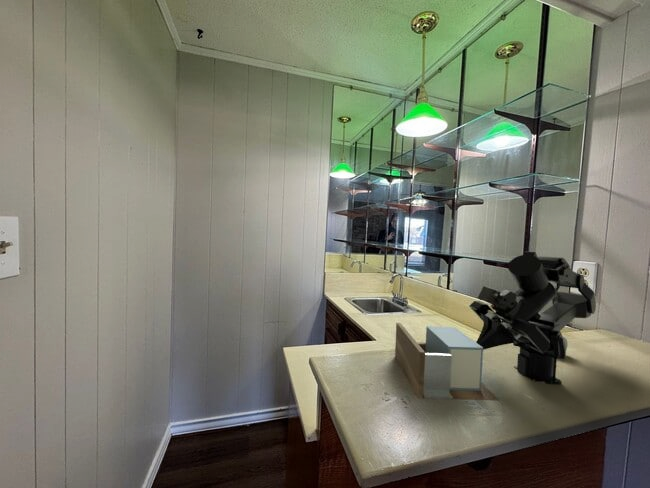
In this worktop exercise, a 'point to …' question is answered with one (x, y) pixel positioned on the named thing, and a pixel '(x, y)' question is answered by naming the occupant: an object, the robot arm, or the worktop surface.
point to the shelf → (414, 365)
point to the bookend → (437, 375)
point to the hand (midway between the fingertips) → (476, 348)
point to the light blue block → (457, 356)
